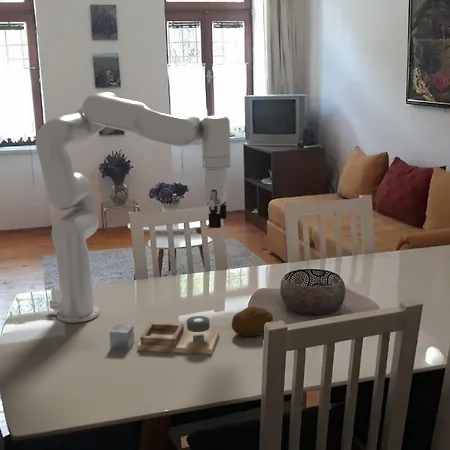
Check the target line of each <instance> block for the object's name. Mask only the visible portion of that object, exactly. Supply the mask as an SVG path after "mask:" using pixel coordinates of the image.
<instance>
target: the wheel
mask: <svg viewBox="0 0 450 450" xmlns="http://www.w3.org/2000/svg"><path fill="white" fill-rule="evenodd" d="M186 324H187V325H186V330H189V331H192V332H203V331H209V329H210V328H211V327H210V326H211V325H210V319H209V317H207V316H204V315H193V316H190V317H188V318H187V319H186Z"/></svg>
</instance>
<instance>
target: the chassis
mask: <svg viewBox="0 0 450 450" xmlns="http://www.w3.org/2000/svg"><path fill="white" fill-rule="evenodd" d="M219 332H220V331H213V330H206V331H203V332H192V331H189V330H188V329H184V323H168V322H166V323H165V322H149V324H148V325H147V327H146V328H145V330H144V331H143V333H142V334H141V335H140V340H139V342H138V343H137V344H136V347H137V351H143V352H156V353H157V352H158V353H159V352H161V353H174V352H175V353H176V354H190V353H197V354H196V355H207V354H210V355H213V352H214V349H215V348H216V345H217V342H218V340H219V335H220V334H219ZM177 352H178V353H177ZM179 352H180V353H179Z"/></svg>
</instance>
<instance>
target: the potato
mask: <svg viewBox="0 0 450 450" xmlns="http://www.w3.org/2000/svg"><path fill="white" fill-rule="evenodd" d="M231 320H232V321H231V329H232V330H233V332H234V333H236V334H238V335H239V336H242V337H243V336H244V337H247V336H248V337H252V336H256V335H262V334H264V333H265V332H264V324H265V323H266V322H271V321H272V322H273V321H274V315H273V314H272V313H271V312H270V311H269V310H267V309H265V308H263V307H261V306H248V307H246V308H244V309H243V310H241V311H239V312H236V313H235V314H234V316H233V317H232V319H231Z"/></svg>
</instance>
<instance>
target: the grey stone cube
mask: <svg viewBox="0 0 450 450" xmlns="http://www.w3.org/2000/svg"><path fill="white" fill-rule="evenodd" d="M108 332H109V345H110V350H124V351H130V348H132V346H133V344H134V342H135V330H134V324H120V323H119V324H118V323H115V325H114V326H113V327H112V328H111V329H110V331H108Z"/></svg>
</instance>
